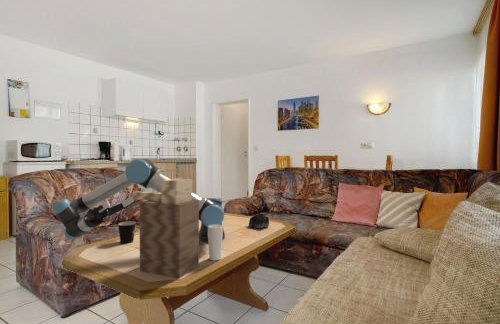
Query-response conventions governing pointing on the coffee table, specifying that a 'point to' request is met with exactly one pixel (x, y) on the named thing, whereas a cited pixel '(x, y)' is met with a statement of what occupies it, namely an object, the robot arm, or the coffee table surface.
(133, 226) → the coffee mug
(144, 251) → the stand
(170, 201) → the stepped beige block
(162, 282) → the coffee table surface
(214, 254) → the drinking glass
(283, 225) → the coffee table surface
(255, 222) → the black rounded lump
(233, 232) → the coffee table surface
